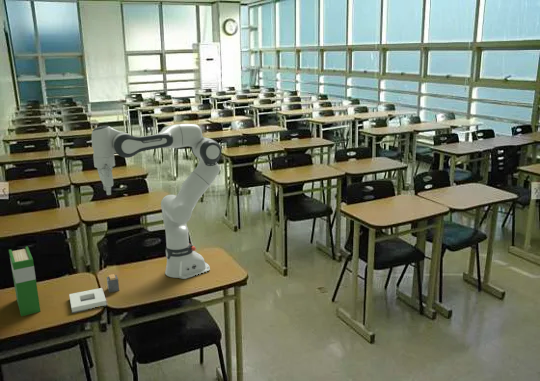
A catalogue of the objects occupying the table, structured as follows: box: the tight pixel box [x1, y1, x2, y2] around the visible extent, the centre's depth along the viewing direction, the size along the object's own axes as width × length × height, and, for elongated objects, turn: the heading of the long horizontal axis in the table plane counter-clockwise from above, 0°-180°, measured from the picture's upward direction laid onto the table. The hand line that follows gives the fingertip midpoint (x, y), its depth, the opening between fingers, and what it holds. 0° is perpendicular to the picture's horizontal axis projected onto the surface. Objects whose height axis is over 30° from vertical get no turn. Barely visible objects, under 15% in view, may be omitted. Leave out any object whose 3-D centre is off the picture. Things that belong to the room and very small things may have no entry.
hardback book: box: [8, 245, 41, 317], centre depth 202 cm, size 18×7×24 cm, turn 33°
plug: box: [106, 273, 120, 293], centre depth 218 cm, size 4×5×7 cm
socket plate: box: [68, 287, 108, 314], centre depth 207 cm, size 14×14×2 cm
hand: (107, 192), depth 213 cm, fingers open, 8 cm apart
